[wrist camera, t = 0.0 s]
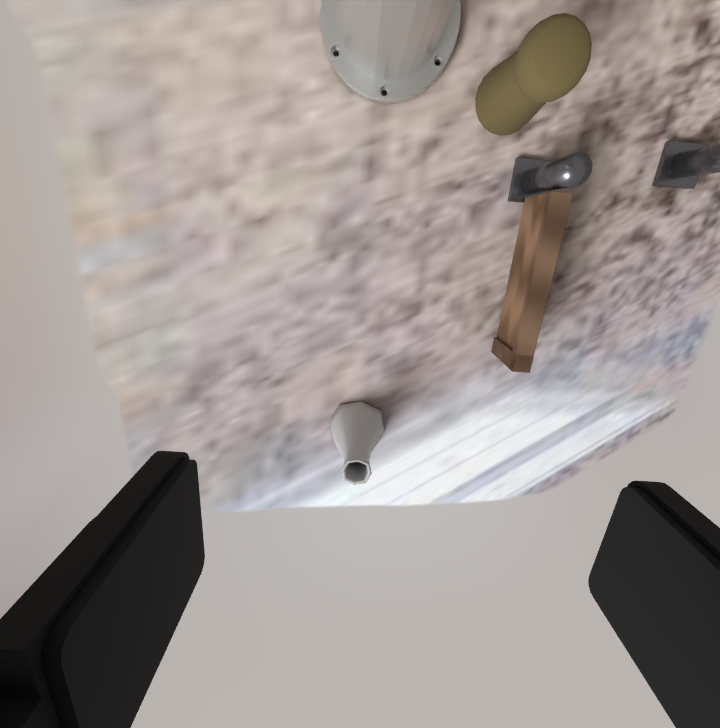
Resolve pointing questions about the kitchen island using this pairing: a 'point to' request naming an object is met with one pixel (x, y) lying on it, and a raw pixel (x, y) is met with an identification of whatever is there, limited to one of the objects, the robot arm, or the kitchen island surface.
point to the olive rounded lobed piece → (534, 74)
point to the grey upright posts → (543, 176)
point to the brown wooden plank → (531, 278)
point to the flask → (356, 438)
